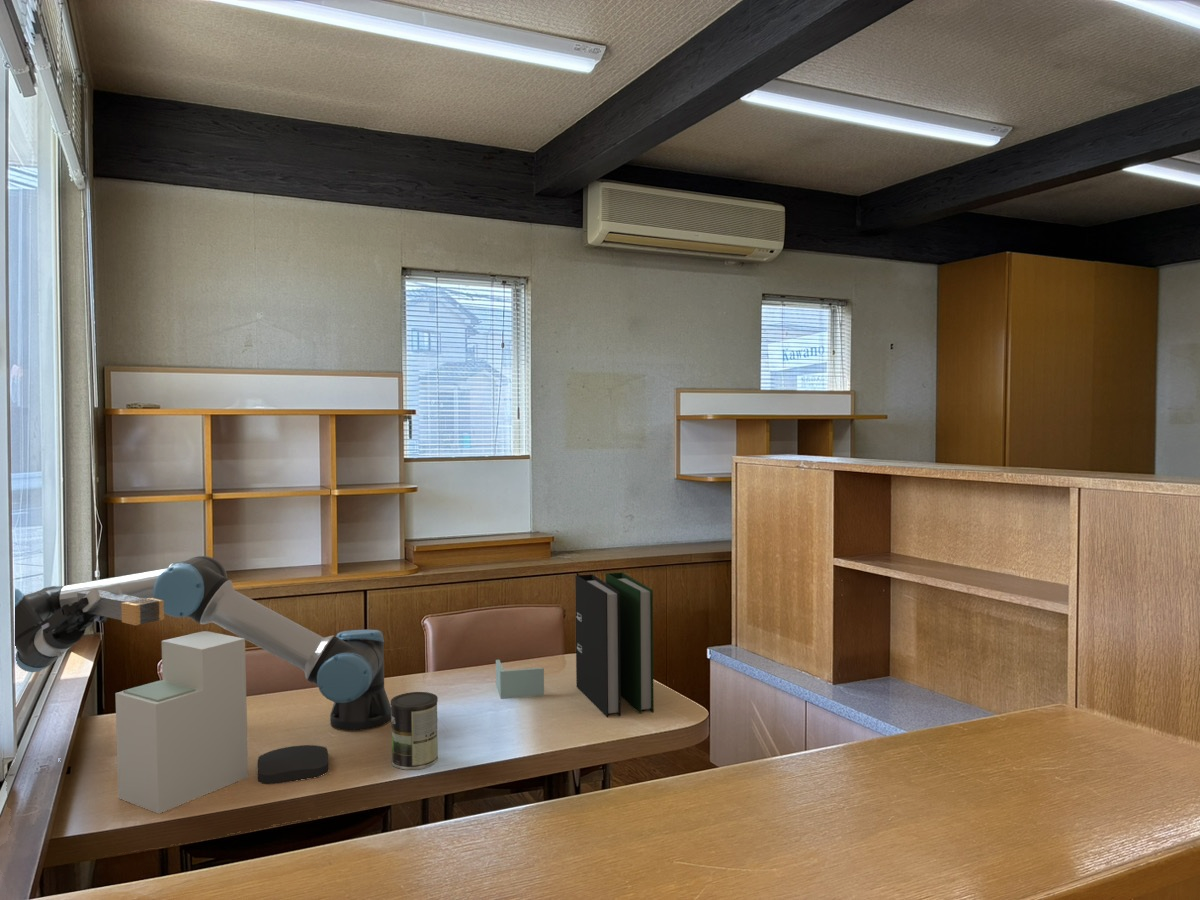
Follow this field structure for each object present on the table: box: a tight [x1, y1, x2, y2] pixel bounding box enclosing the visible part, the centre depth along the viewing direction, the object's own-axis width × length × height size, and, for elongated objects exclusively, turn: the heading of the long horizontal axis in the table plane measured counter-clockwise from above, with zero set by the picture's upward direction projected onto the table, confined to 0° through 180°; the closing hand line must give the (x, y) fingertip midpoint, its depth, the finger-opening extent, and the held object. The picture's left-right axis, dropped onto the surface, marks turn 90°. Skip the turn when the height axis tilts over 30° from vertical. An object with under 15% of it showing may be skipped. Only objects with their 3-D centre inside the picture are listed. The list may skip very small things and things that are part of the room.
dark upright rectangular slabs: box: [574, 572, 655, 718], centre depth 233 cm, size 27×15×32 cm, turn 17°
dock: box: [114, 630, 249, 815], centre depth 179 cm, size 14×20×30 cm
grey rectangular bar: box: [77, 590, 165, 626], centre depth 182 cm, size 24×6×4 cm, turn 58°
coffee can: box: [390, 691, 439, 771], centre depth 192 cm, size 10×10×14 cm
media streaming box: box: [256, 744, 329, 785], centre depth 189 cm, size 15×15×3 cm
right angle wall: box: [495, 659, 545, 700], centre depth 242 cm, size 12×12×8 cm
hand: (108, 591), depth 184 cm, fingers closed on grey rectangular bar, 4 cm apart
